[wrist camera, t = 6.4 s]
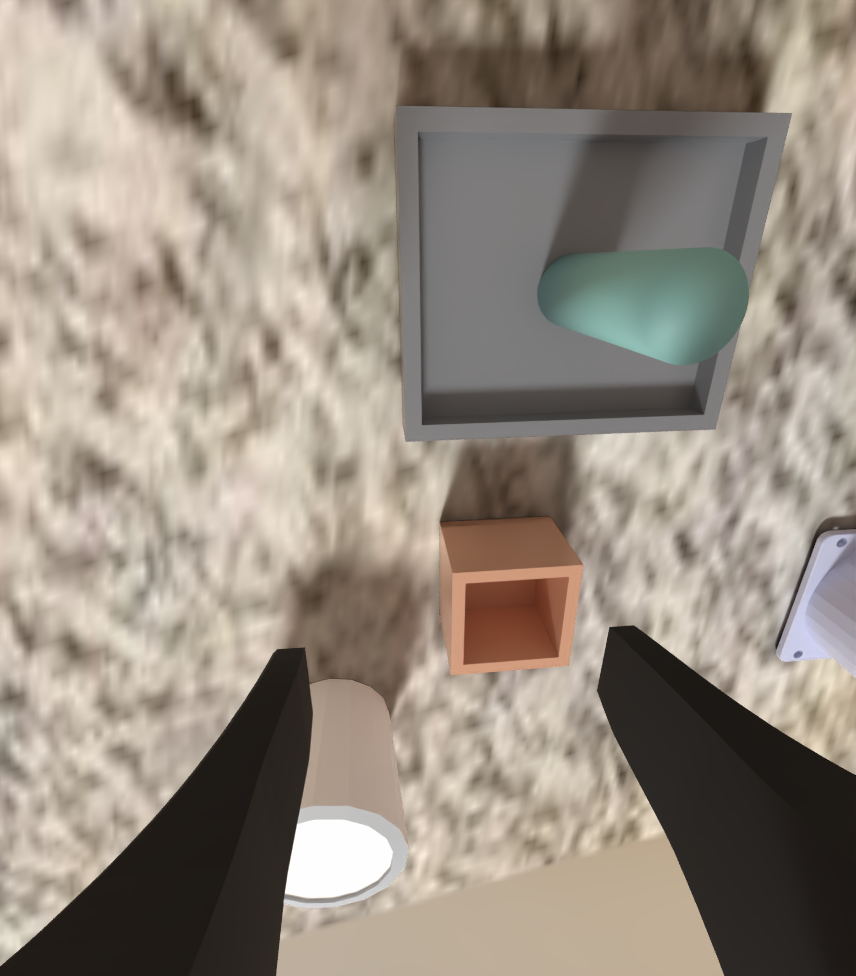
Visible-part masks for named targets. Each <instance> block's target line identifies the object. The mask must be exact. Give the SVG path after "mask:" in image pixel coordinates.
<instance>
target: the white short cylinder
mask: <svg viewBox="0 0 856 976" xmlns="http://www.w3.org/2000/svg"><path fill="white" fill-rule="evenodd" d="M310 692H311V700H312V708H313V722H312V734H311V746H310V757H309V764H308V769H307V775H306V780H305V785H304V791H303V796H302V801H301V807H300V812H299V817H298V822H297V828H296V833H295V838H294V843H293V849H292V854H291V859H290V864H289V870H288V876H287V883H286V889H285V896H284V904H286V905H290V906H295V907H300V908H322V907H337V906H341V905H345V904H349V903H353V902H357V901H360V900H364V899H366V898H368V897H370V896H372V895H374V894H375V893H377V892H379V891H381V890H383V889H384V888H386V887H388V886H389V885H390V884H391V883H392V882H393V881H394V880H395V879H396V878H397V876H398V875H399V874H400V873H401V872H402V871H403V870H404V869H405V864H406V860H407V855H408V851H409V846H408V839H407V832H406V825H405V818H404V811H403V804H402V797H401V791H400V784H399V777H398V770H397V763H396V756H395V749H394V742H393V736H392V729H391V722H390V715H389V711H388V708H387V706H386V703H385V701H384V698H383V697H382V696H380V695H379V694H378V693H377V692H376V691H375V690H374V689H372V688H371V687H370V686H367V685H364V684H362V683H359V682H356V681H353V680H346V679H327V680H323V681H319V682H315V683H312V684H310Z"/></svg>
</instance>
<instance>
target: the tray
mask: <svg viewBox="0 0 856 976" xmlns="http://www.w3.org/2000/svg"><path fill="white" fill-rule="evenodd" d="M791 115H792V113H753V112H701V111H649V110H596V109H544V108H492V107H439V106H396V112H395V119H394V147H395V181H396V214H397V247H398V281H399V314H400V348H401V381H402V415H403V429H404V435H405V441H406V442H410V441H435V440H460V439H485V438H510V437H535V436H560V435H586V434H611V433H636V432H661V431H686V430H711V429H716V425H717V421H718V416H719V412H720V408H721V404H722V400H723V396H724V392H725V388H726V383H727V379H728V375H729V371H730V367H731V363H732V359H733V355H734V350H735V346H736V342H737V338H738V334H739V330H740V327H739V329H738V331H737V332H736V333H735V335H734V336H733V338H732V339H731V340H730V341H729V342H728V344H726V345H725V346H724V347H723V348H722V349H721V350H720V351H719V352H717V353H716V354H715V355H713V356H711V357H710V358H708V359H706V360H704V361H701V362H698V363H695V364H691V365H674V364H669V363H666V362H664V361H661V360H658V359H655V358H652V357H649V356H646V355H643V354H640V353H637V352H634V351H631V350H628V349H625V348H622V347H619V346H617V345H614V344H611V343H608V342H605V341H602V340H599V339H596V338H593V337H590V336H587V335H584V334H581V333H578V332H575V331H573V330H570V329H567V328H564V327H561V326H558V325H555V324H553V323H551V322H550V321H549V320H547V318H546V317H545V316H544V315H543V314H542V312H541V310H540V307H539V304H538V297H537V292H538V286H539V282H540V279H541V277H542V275H543V273H544V272H545V270H546V269H547V268H548V266H549V265H550V264H551V263H552V262H554V261H555V260H556V259H558V258H560V257H562V256H565V255H568V254H579V253H599V252H619V251H639V250H660V249H680V248H700V247H712V248H718V249H722V250H724V251H726V252H728V253H730V254H731V255H733V256H734V257H735V258H736V259H737V260H738V261H739V263H740V264H741V265H742V267H743V269H744V271H745V273H746V276H747V280H748V285H749V289H750V284H751V280H752V276H753V272H754V268H755V264H756V260H757V256H758V251H759V247H760V243H761V239H762V235H763V231H764V227H765V222H766V218H767V214H768V210H769V206H770V202H771V198H772V194H773V189H774V185H775V181H776V177H777V173H778V169H779V165H780V161H781V156H782V152H783V148H784V144H785V140H786V136H787V132H788V128H789V123H790V119H791ZM740 326H741V325H740Z"/></svg>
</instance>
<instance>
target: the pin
mask: <svg viewBox="0 0 856 976" xmlns="http://www.w3.org/2000/svg"><path fill="white" fill-rule="evenodd" d="M537 297H538V304H539V307H540V310H541V312H542V314H543V315H544V316H545V317H546V318H547V320H549V321H550V322H551V323H553V324H555V325H558V326H561V327H564V328H567V329H570V330H573V331H575V332H578V333H581V334H584V335H587V336H590V337H593V338H596V339H599V340H602V341H605V342H608V343H611V344H614V345H617V346H619V347H622V348H625V349H628V350H631V351H634V352H637V353H640V354H643V355H646V356H649V357H652V358H655V359H658V360H661V361H664V362H666V363H669V364H674V365H691V364H695V363H698V362H701V361H704V360H706V359H708V358H710V357H711V356H713V355H715V354H716V353H717V352H719V351H720V350H721V349H722V348H723V347H724V346H725V345H726V344H728V342H729V341H730V340H731V339H732V338H733V336H734V335H735V333H736V332H737V331H738V329H739V327H740V325H741V323H742V321H743V319H744V316H745V313H746V310H747V305H748V299H749V285H748V280H747V276H746V273H745V271H744V269H743V267H742V265H741V264H740V263H739V261H738V260H737V259H736V258H735V257H734V256H733V255H731V254H730V253H728V252H726V251H724V250H722V249H718V248H712V247H700V248H680V249H660V250H639V251H619V252H599V253H579V254H568V255H565V256H562V257H560V258H558V259H556V260H555V261H554V262H552V263H551V264H550V265H549V266H548V268H547V269H546V270H545V272H544V273H543V275H542V277H541V279H540V282H539V286H538V292H537Z"/></svg>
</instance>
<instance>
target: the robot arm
mask: <svg viewBox="0 0 856 976" xmlns="http://www.w3.org/2000/svg"><path fill="white" fill-rule="evenodd" d="M776 655H777V657H778V658H779V659H780V660H782V661H785V662H788V661H800V660H812V659H824V658H833V659H834V660H835V661H836V662H838V663H839V664H840V665H841V666H842V667H843V668H845V669H846V670H847V671H848V672H849V673H850V674H852V675H853V676H854V677H855V678H856V529H849V530H833V531H826V532H824V533H822V534H821V535H820V536H819V537H818V539H817V541H816V544H815V547H814V549H813V552H812V555H811V558H810V560H809V563H808V566H807V569H806V571H805V574H804V577H803V579H802V582H801V585H800V588H799V590H798V593H797V596H796V599H795V601H794V604H793V607H792V609H791V612H790V615H789V618H788V620H787V623H786V626H785V629H784V631H783V634H782V637H781V640H780V642H779V645H778V648H777V650H776ZM597 692H598V694H599V697H600V700H601V703H602V705H603V708H604V711H605V714H606V716H607V719H608V721H609V724H610V726H611V729H612V731H613V734H614V736H615V738H616V740H617V742H618V744H619V745H620V747H621V749H622V751H623V753H624V755H625V757H626V759H627V761H628V763H629V765H630V767H631V769H632V771H633V772H634V774H635V776H636V778H637V780H638V782H639V784H640V786H641V788H642V790H643V791H644V793H645V795H646V797H647V799H648V801H649V803H650V805H651V807H652V809H653V810H654V812H655V814H656V816H657V818H658V820H659V822H660V824H661V826H662V828H663V829H664V831H665V834H666V836H667V838H668V840H669V842H670V844H671V846H672V848H673V850H674V852H675V854H676V857H677V859H678V861H679V864H680V866H681V869H682V871H683V873H684V876H685V878H686V880H687V883H688V885H689V888H690V890H691V892H692V895H693V897H694V900H695V902H696V904H697V907H698V909H699V912H700V914H701V917H702V920H703V922H704V925H705V927H706V930H707V932H708V935H709V937H710V940H711V942H712V945H713V947H714V950H715V952H716V955H717V957H718V960H719V963H720V965H721V968H722V970H723V973H724V976H856V775H854V774H852V773H851V772H849V771H847V770H845V769H843V768H842V767H840V766H838V765H836V764H834V763H833V762H831V761H829V760H827V759H826V758H824V757H822V756H820V755H819V754H817V753H815V752H814V751H812V750H810V749H809V748H807V747H805V746H804V745H802V744H800V743H799V742H797V741H795V740H794V739H792V738H790V737H789V736H787V735H786V734H784V733H782V732H781V731H779V730H778V729H776V728H775V727H773V726H771V725H770V724H768V723H767V722H765V721H764V720H762V719H761V718H760V717H758V716H757V715H755V714H754V713H752V712H751V711H749V710H748V709H746V708H745V707H743V706H742V705H740V704H739V703H737V702H736V701H735V700H733V699H732V698H730V697H729V696H728V695H726V694H725V693H723V692H722V691H721V690H719V689H718V688H716V687H715V686H714V685H712V684H711V683H710V682H708V681H707V680H706V679H704V678H703V677H702V676H700V675H699V674H698V673H696V672H695V671H694V670H692V669H691V668H690V667H688V666H687V665H686V664H684V663H683V662H682V661H680V660H679V659H678V658H676V657H675V656H674V655H673V654H671V653H670V652H669V651H667V650H666V649H665V648H663V647H662V646H661V645H660V644H658V643H657V642H656V641H654V640H653V639H652V638H650V637H649V636H648V635H646V634H645V633H644V632H642V631H641V630H639V629H638V628H637V627H635V626H619V627H609V632H608V637H607V643H606V648H605V653H604V658H603V663H602V668H601V673H600V678H599V683H598V689H597ZM312 722H313V708H312V700H311V692H310V684H309V676H308V669H307V661H306V653H305V648H290V649H277V650H276V651H275V652H274V653H273V655H272V656H271V658H270V660H269V662H268V663H267V665H266V667H265V669H264V670H263V672H262V674H261V675H260V677H259V679H258V680H257V682H256V683H255V685H254V687H253V688H252V690H251V691H250V693H249V694H248V696H247V698H246V699H245V701H244V702H243V704H242V705H241V707H240V708H239V710H238V711H237V712H236V714H235V715H234V717H233V718H232V720H231V721H230V723H229V724H228V726H227V727H226V729H225V730H224V731H223V733H222V734H221V736H220V737H219V738H218V740H217V741H216V742H215V744H214V745H213V746H212V748H211V749H210V750H209V751H208V753H207V754H206V755H205V757H204V758H203V759H202V761H201V762H200V763H199V765H198V766H197V767H196V769H195V770H194V771H193V772H192V774H191V775H190V776H189V777H188V779H187V780H186V781H185V782H184V784H183V785H182V786H181V787H180V788H179V790H178V791H177V792H176V793H175V794H174V796H173V797H172V798H171V799H170V800H169V801H168V802H167V804H166V805H165V806H164V807H163V808H162V809H161V811H160V812H159V813H158V814H157V815H156V816H155V817H154V818H153V820H152V821H151V822H150V823H149V824H148V825H147V826H146V827H145V828H144V829H143V830H142V831H141V833H140V834H139V835H138V836H137V837H136V838H135V839H134V840H133V841H132V842H131V843H130V844H129V845H128V846H127V848H126V849H125V850H124V851H123V852H122V853H121V854H120V855H119V856H118V857H117V858H116V859H115V860H114V861H113V862H112V863H111V864H110V865H109V866H108V867H107V868H106V869H105V870H104V871H103V872H102V873H101V874H100V875H99V876H98V877H97V878H96V879H95V880H94V881H93V882H92V883H91V884H90V885H89V886H88V887H87V888H86V889H84V890H83V891H82V892H81V893H80V894H79V895H78V896H77V897H76V898H75V899H74V900H73V901H72V902H71V903H70V904H69V905H68V906H67V907H66V908H64V909H63V910H62V911H61V912H60V913H59V914H58V915H57V916H56V917H55V918H54V919H53V920H52V921H51V922H50V923H49V924H48V925H47V926H46V927H44V928H43V929H42V930H41V931H40V932H39V933H38V934H37V935H36V936H35V937H33V938H32V939H31V940H30V941H29V942H28V943H27V944H26V945H25V946H23V947H22V948H21V949H20V950H19V951H18V952H16V953H15V954H14V955H13V956H12V957H11V958H9V959H8V960H7V961H6V962H5V963H4V964H2V965H1V966H0V976H276V970H277V960H278V951H279V941H280V932H281V923H282V913H283V904H284V896H285V889H286V883H287V876H288V870H289V864H290V859H291V854H292V849H293V843H294V838H295V833H296V828H297V822H298V817H299V812H300V807H301V801H302V796H303V791H304V785H305V780H306V775H307V769H308V764H309V757H310V746H311V734H312Z"/></svg>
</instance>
